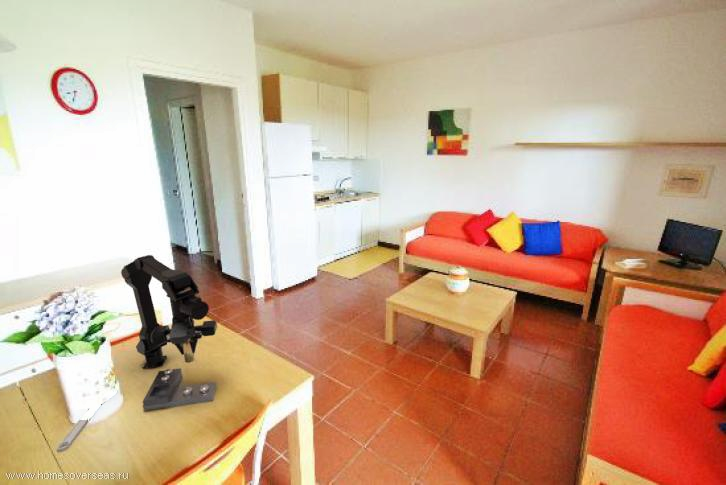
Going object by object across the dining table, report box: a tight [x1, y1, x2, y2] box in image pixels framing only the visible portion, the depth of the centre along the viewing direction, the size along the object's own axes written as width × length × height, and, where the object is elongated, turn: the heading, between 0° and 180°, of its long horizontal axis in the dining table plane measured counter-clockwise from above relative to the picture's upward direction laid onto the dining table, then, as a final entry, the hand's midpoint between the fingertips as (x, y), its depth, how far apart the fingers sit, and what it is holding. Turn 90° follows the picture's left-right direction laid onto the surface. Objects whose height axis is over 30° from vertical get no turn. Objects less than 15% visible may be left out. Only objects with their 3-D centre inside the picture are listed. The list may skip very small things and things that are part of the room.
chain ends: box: [142, 368, 218, 412], centre depth 114 cm, size 15×20×5 cm
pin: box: [182, 337, 196, 364], centre depth 114 cm, size 4×4×9 cm
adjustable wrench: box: [56, 419, 89, 453], centre depth 104 cm, size 25×6×2 cm, turn 5°
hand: (188, 353), depth 115 cm, fingers closed on pin, 3 cm apart
